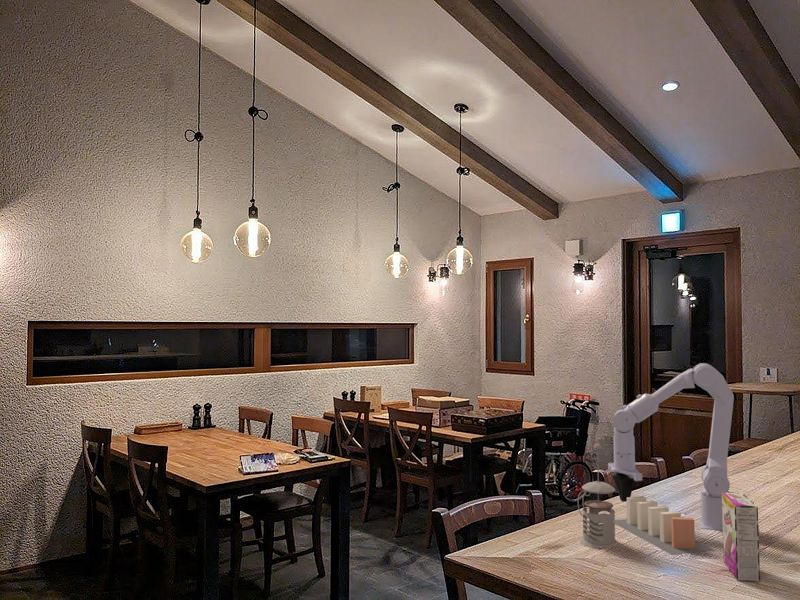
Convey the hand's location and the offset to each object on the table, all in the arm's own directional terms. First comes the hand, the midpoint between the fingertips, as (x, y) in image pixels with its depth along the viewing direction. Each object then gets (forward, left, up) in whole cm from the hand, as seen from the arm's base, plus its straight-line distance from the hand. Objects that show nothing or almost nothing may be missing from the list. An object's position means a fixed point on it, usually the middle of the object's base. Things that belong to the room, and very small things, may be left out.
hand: (625, 500), depth 190 cm
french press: (+8, +22, -5) cm, 24 cm away
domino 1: (-3, +5, -5) cm, 7 cm away
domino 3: (-8, +14, -5) cm, 16 cm away
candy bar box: (-23, +35, -5) cm, 43 cm away
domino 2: (-5, +9, -5) cm, 12 cm away
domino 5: (-13, +22, -5) cm, 26 cm away
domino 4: (-10, +18, -5) cm, 21 cm away
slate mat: (-8, +14, -5) cm, 16 cm away
